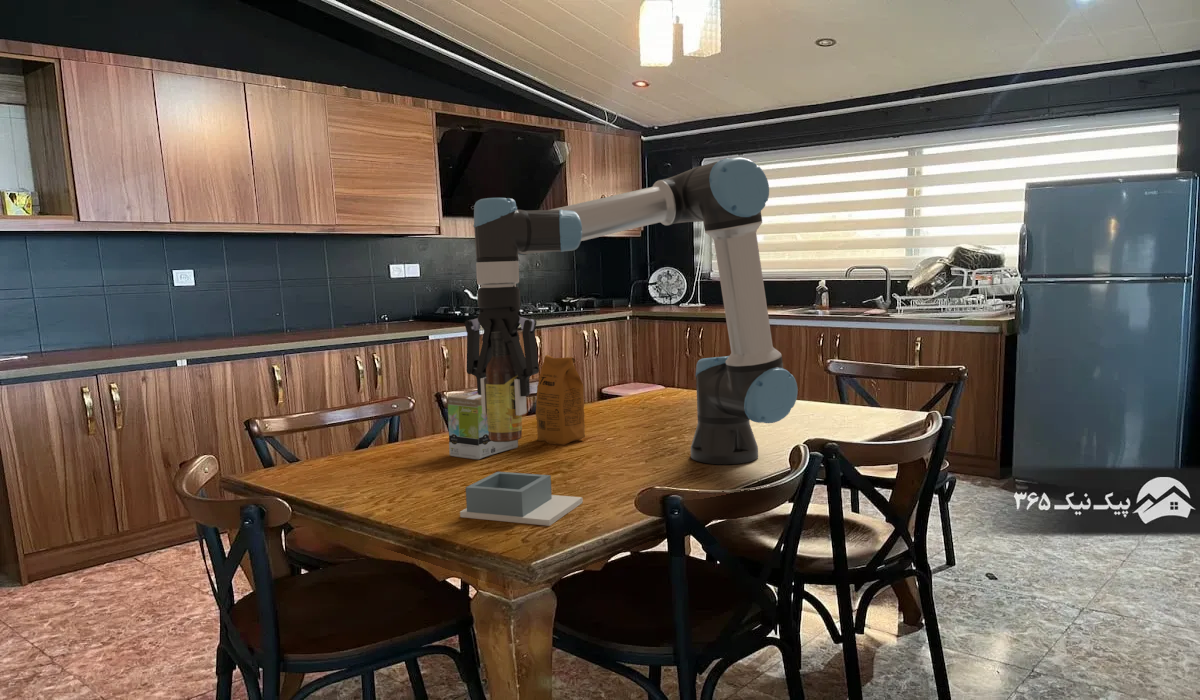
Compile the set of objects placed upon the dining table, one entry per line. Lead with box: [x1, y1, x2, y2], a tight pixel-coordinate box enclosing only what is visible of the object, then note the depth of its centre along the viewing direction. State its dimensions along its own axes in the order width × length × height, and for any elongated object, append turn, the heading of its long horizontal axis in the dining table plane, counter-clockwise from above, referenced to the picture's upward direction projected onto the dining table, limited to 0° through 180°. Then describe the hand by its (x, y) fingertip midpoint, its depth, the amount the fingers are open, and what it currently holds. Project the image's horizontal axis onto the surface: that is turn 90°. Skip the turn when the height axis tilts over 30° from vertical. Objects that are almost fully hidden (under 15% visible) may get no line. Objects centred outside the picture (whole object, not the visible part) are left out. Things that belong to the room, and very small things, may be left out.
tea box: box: [447, 390, 519, 460], centre depth 195 cm, size 15×10×15 cm, turn 148°
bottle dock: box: [459, 471, 584, 527], centre depth 146 cm, size 18×14×6 cm
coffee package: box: [535, 354, 586, 445], centre depth 204 cm, size 10×12×22 cm
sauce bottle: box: [486, 332, 523, 442], centre depth 144 cm, size 7×6×20 cm
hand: (504, 413), depth 144 cm, fingers closed on sauce bottle, 6 cm apart
